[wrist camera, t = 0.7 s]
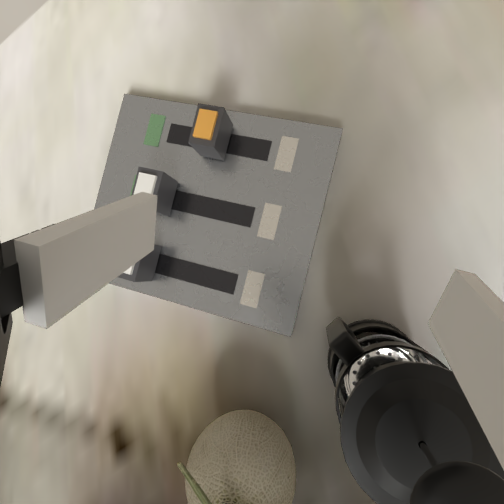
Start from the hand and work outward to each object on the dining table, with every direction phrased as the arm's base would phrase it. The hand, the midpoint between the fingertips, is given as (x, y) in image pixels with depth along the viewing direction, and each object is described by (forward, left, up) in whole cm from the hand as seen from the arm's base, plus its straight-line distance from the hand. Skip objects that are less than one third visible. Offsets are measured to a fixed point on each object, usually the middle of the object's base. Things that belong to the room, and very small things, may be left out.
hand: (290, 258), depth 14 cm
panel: (+4, +13, -23) cm, 27 cm away
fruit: (-21, 0, -24) cm, 31 cm away
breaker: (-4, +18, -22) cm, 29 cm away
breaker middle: (+4, +18, -22) cm, 29 cm away
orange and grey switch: (+12, +13, -22) cm, 28 cm away
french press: (-8, -9, -23) cm, 26 cm away
